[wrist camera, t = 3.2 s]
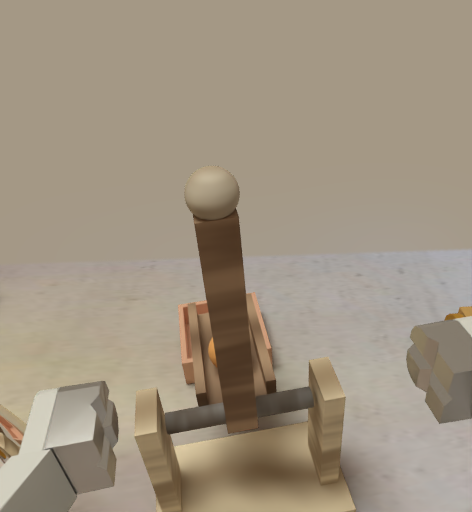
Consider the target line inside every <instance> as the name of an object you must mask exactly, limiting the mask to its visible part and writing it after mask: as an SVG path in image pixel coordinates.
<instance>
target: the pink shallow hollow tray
mask: <svg viewBox="0 0 472 512" xmlns="http://www.w3.org/2000/svg"><path fill="white" fill-rule="evenodd" d="M248 294H251V295H252V299H253V302H254V306H255V309H256V312H257V316H258V319H259V323H260V326H261V330H262V333H263V337H264V340H265V344H266V347H267V351H268V354H269V358H270V361H271V365H272V350H271V345H270V342H269V338H268V335H267V332H266V329H265V325H264V322H263V319H262V315H261V312H260V309H259V305H258V302H257V299H256V295H255V292H254V293H248ZM193 303H196V309H197V314H204V313H209V312H208V306H207V300H205V301H199V302H193ZM187 304H190V303H187ZM187 304H181V305H178V311H179V326H180V341H181V355H182V366H183V370H184V375H185V379H186V383H187V384H191V383H195V379H194V369H193V358H192V347H191V337H190V326H189V316H188V305H187Z"/></svg>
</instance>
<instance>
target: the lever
mask: <svg viewBox="0 0 472 512" xmlns="http://www.w3.org/2000/svg"><path fill="white" fill-rule="evenodd" d="M184 193H185V194H184V195H185V201H186V204H187V206H188V208H189V209H190V211H191V212H192V213H193V218H194V224H195V231H196V237H197V243H198V249H199V256H200V262H201V268H202V274H203V281H204V287H205V293H206V299H207V306H208V312H209V313H204V314H197V309H196V303H190V304H187V305H188V316H189V326H190V337H191V347H192V358H193V369H194V379H195V390H196V397H197V402H198V406H199V407H195V408H189V409H184V410H179V411H173V412H168V413H165V426H166V431H167V434H173V433H179V432H184V431H189V430H195V429H200V428H205V427H211V426H216V425H221V424H227V430H228V434H230V433H235V432H240V431H246V430H251V429H256V428H258V419H257V418H259V417H264V416H270V415H275V414H280V413H286V412H291V411H296V410H302V409H307V408H312V407H314V399H313V395H312V391H311V389H310V387H304V388H299V389H293V390H288V391H282V392H276V378H275V375H274V371H273V368H272V365H271V361H270V358H269V354H268V351H267V347H266V344H265V340H264V337H263V333H262V330H261V326H260V323H259V319H258V316H257V312H256V309H255V306H254V302H253V299H252V295H251V294H246V290H245V279H244V269H243V258H242V248H241V237H240V227H239V216H238V214H237V210H236V207H237V204H238V201H239V195H240V191H239V186H238V183H237V181H236V179H235V178H234V176H233V175H232V174H231V173H230V172H228V171H227V170H225V169H224V168H221V167H218V166H206V167H202V168H200V169H198V170H197V171H195V172H194V173H193V174H192V175H191V176H190V177H189V179H188V181H187V183H186V186H185V192H184ZM212 337H213V343H214V349H215V355H216V362H217V367H216V366H215V365H214V364H213V363H212V362H211V360H210V357H209V353H208V347H209V343H210V341H211V339H212Z"/></svg>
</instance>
